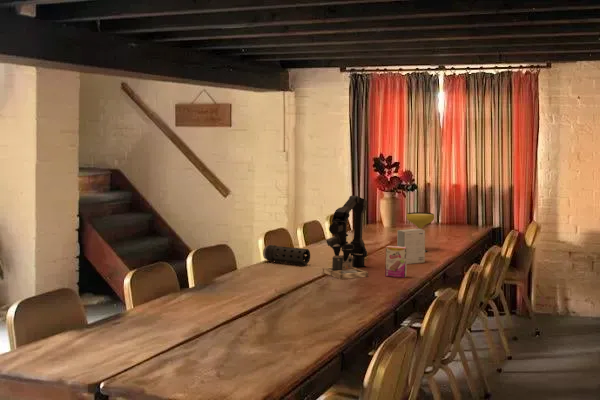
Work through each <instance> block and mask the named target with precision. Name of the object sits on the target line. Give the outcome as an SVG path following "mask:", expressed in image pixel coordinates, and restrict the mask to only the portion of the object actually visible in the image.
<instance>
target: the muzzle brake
mask: <svg viewBox="0 0 600 400" xmlns="http://www.w3.org/2000/svg"><path fill="white" fill-rule="evenodd" d="M262 255H263V258H264V259H265V260H267V261H270V262H274V263H276V264H281V263H286V264H290V265H295V266H296V265H298V266H304V267H305V266H307V265H308V263H310V260H311V252H310V250H309V249H308V248H301V247H300V248H299V247H288V246H283V245H282V246H279V245H276V244H275V245H274V244H269V245H265V246H264V248H263V251H262Z"/></svg>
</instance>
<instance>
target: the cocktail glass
mask: <svg viewBox="0 0 600 400" xmlns="http://www.w3.org/2000/svg"><path fill="white" fill-rule="evenodd" d="M406 219H407V221H408V222H410V223H412V224H413V225H415V226H416V227H417V229H422V230H423V228H424V227H425V226H427V225H428V224H430V223H432V222H433V221H435V214H434V213H431V212H422V211H421V212H420V211H419V212H417V211H416V212H415V211H414V212H413V211H412V212H407V213H406ZM426 251H428V250H427V249H425V253H427V252H426Z"/></svg>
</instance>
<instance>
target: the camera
mask: <svg viewBox="0 0 600 400" xmlns="http://www.w3.org/2000/svg"><path fill="white" fill-rule="evenodd" d="M352 258H353V256H351V255H349V256H348V259H347V261H346V262H344V256H343V255H340V254H339V256H335V255H333V256H332V262H331V263H332V265H331V266H332V271H337V270H350V269H352V267H353V266H352Z"/></svg>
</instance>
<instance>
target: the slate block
mask: <svg viewBox="0 0 600 400" xmlns="http://www.w3.org/2000/svg"><path fill="white" fill-rule="evenodd" d="M346 273H358V272H357V271H356V270H349V271H341V274H346Z"/></svg>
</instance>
